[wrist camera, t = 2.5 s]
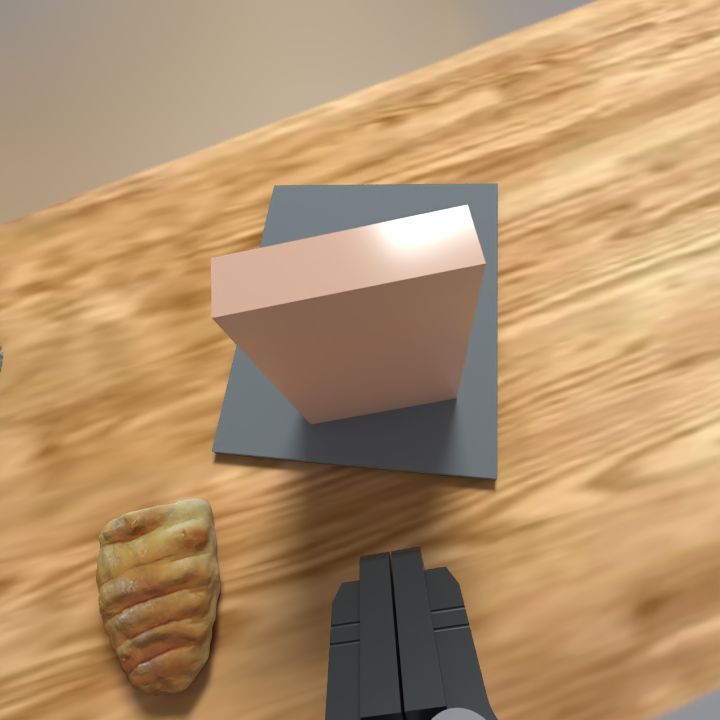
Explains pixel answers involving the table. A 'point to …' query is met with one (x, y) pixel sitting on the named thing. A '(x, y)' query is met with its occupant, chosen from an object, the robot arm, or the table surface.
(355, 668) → the robot arm
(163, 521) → the pastry
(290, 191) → the mat
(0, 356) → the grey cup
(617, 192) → the table surface
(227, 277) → the tile
